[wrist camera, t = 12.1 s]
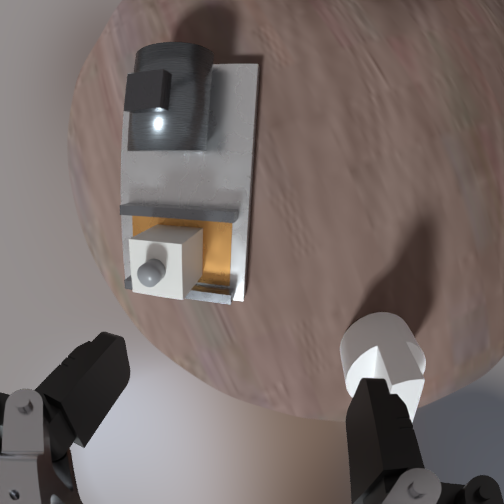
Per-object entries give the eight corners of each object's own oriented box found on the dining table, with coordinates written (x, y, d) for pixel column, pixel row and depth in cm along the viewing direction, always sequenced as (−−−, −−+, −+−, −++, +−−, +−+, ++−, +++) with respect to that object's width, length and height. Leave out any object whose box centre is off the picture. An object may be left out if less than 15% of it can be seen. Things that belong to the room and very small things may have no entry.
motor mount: (134, 76, 27) (79, 54, 17) (259, 68, 25) (243, 27, 16) (131, 279, 34) (84, 318, 25) (245, 295, 33) (225, 347, 23)
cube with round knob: (157, 224, 30) (119, 243, 23) (203, 228, 29) (174, 249, 22) (158, 269, 31) (125, 298, 24) (202, 275, 31) (176, 307, 24)
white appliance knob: (340, 316, 32) (356, 388, 21) (413, 307, 30) (455, 370, 19) (338, 376, 34) (348, 450, 23) (404, 367, 33) (431, 434, 22)
